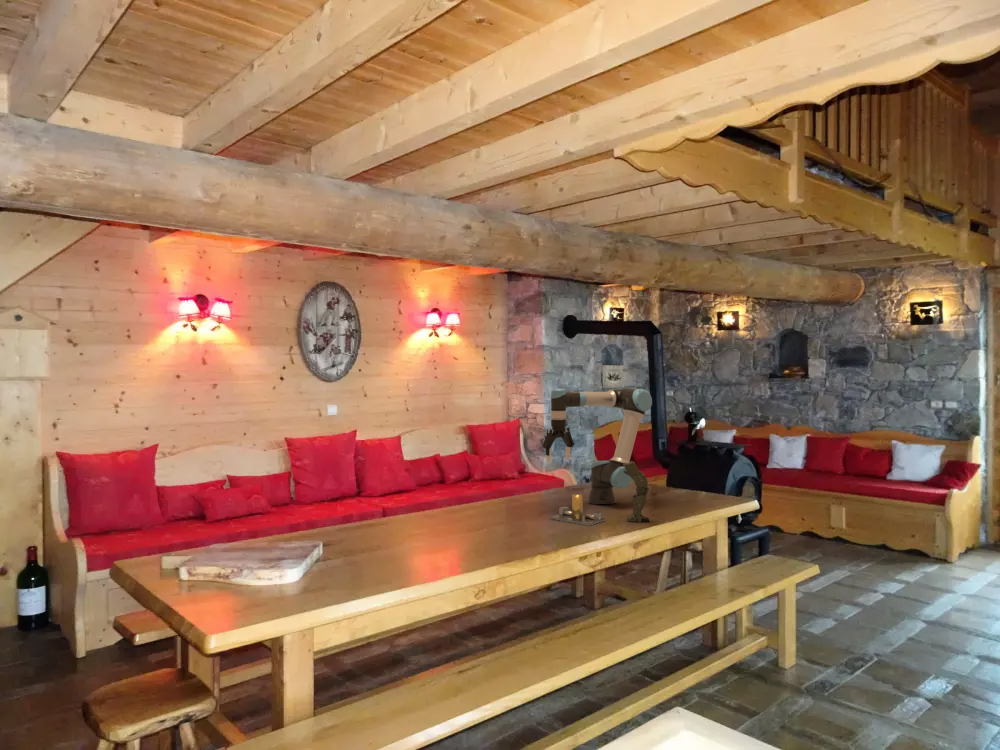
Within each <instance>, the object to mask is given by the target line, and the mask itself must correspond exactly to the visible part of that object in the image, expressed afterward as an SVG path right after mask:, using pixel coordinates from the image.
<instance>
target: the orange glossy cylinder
mask: <svg viewBox="0 0 1000 750" xmlns="http://www.w3.org/2000/svg"><path fill="white" fill-rule="evenodd" d="M583 496H584V495H583V494H581V493H577V494H572V495H571V499H572V500H571V503H572V504H571V510H572V511H571V512H572V518H574V519H581V518H583V513H584V512H583V508H584V507H583V506H584V504H583V500H584V499H583Z"/></svg>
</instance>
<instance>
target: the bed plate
mask: <svg viewBox="0 0 1000 750" xmlns="http://www.w3.org/2000/svg"><path fill="white" fill-rule="evenodd" d="M558 513H559V514H555V515H551V516H549V520H551V519H555V520H554V521H556V520H560V521H559V522H562V521H566V522H565V523H568V522H571V523H570V524H574V523H576V524H575V525H580V524H581V526H586V525H589V526H588V527H591V526H590V525H592V526H594V525H593V524H595V525H597V524H596V523H598V524H600V523H599V522H601V523H603V522H602V521H605V522H606V521H607V520H606V518H603V517H602V511H594V512H593V513H592V514H588V513H585V514H584V515H583V518H581V519H574V518H572V511H570V507H569V506H561V507H559V512H558Z"/></svg>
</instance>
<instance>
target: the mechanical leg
mask: <svg viewBox="0 0 1000 750" xmlns="http://www.w3.org/2000/svg"><path fill="white" fill-rule="evenodd" d="M623 465H624V467H625V469H626V471H627V472H626V471H624V473H625V474H627V475H629V476H630V477H631V478H632V481H633V483H634V484H635V486H636V489H635V492H636V493H635V494H633V496H632V505H633V509H632V512H631V514H629V515H626V521H627V520H628V521H638V522H637V523H650V522H651V521H650V518H649V517H647V516H644V515H643V514H642V511H643V509H644V506H645V504H646V499H647V497H648V496H647V495H648V494H649V490H650V487H649V486H648V483H649V480H648V478H647V477H646V475H645V473H643V472H642V471H640V469H639V468H638V466H637V464H636V463H635V461H632V460H631V461H630V462H629V463H625V462H624V464H623ZM628 521H627V522H628Z"/></svg>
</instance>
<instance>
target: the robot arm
mask: <svg viewBox="0 0 1000 750" xmlns="http://www.w3.org/2000/svg"><path fill="white" fill-rule="evenodd" d="M585 406H586V407H587V406H591V407H592V406H593V407H595V406H596V407H597V406H599V407H600V406H607V407H608V408H616V409H621V410H622V411H623V413H624V417H623V421H622V423H621V428H620V432H619V435H618V439H617V442H616V446H615V447H616V448H615V450H614V455H613V456H612V458H610V459H609V460H597V461H593V462H591V467H590V471H591V472H590V473H591V474H590V476H591V477H590V478H591V479H590V480H591V483H590V485H591V486H590V492H589V495H588V499H587V503H588V502H589V503H588V504H590V503H592V504H591V505H595V504H612V505H615V504H614V503H616V504H617V499H616V496H615V492H614V488H615V489H624V488H627V487H629V485H631V483H632V481H633V479H632V478H631V477H630V476H629V475H627V474H625V473H624V471H626V469H625V467H624V465H623V464H624V462H625V463H629V462H631V461H630V460H631V457H632V454H633V453H632V452H633V448H634V445H635V441H636V437H637V433H638V430H639V427H640V422H641V419H642V418H643V417H645V415H646V412H647V411H649V410H650V409H651V407H652V406H653V399H652V396H651V394H650V392H649V391H647V390H646V389H645V388H644V389H642V388H629V387H628V388H620V389H609V390H607V391H567V389H565V388H552V389H551V393H550V409H551V411H550V419H551V420H550V426H551V428H547V430H546V435H545V438H544V440H543V444H542V446H541V447H542V448H543V449H545V456H546V457H545V458H546V459H545V460H546V463H552V449H551V448H552V446H553V444H554V442H555V441H556V439H558V438H561V439H562V440H563V442H564V444H565V446H566V447H565V460H566V461H570V460H571V453H572V448H573V447H574V446H575V443H574V439H573V437H572V434H571V430H570V429H571V428H570V427H566V426H567V420H566V418H567V408H582V407H585ZM626 472H627V471H626Z"/></svg>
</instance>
